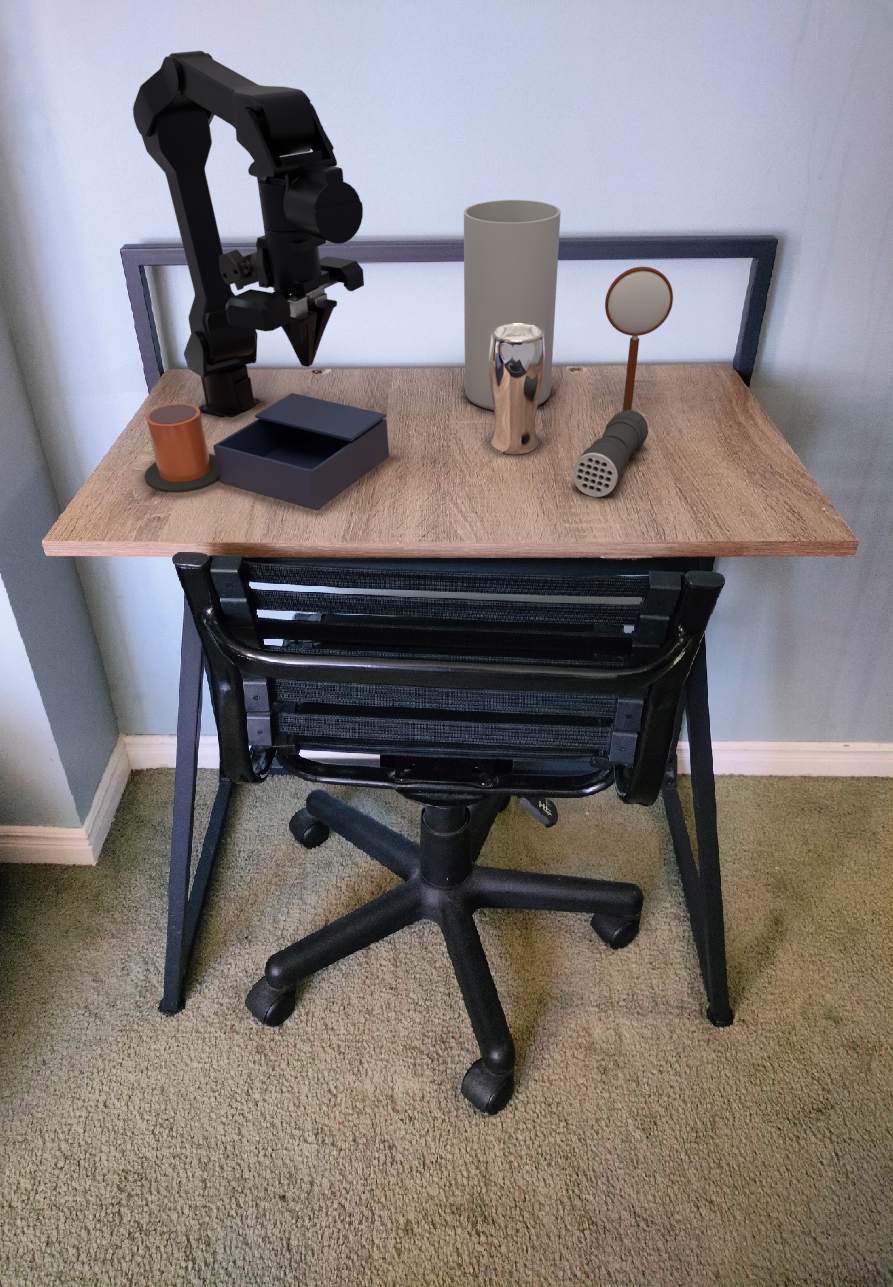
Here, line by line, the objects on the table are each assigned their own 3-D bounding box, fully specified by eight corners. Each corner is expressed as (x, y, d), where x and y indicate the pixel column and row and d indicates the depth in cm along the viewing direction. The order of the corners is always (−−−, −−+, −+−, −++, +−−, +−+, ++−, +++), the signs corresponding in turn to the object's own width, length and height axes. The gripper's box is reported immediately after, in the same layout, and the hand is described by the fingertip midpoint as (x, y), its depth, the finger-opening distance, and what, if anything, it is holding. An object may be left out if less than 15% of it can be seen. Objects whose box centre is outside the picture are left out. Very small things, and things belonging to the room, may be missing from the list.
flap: (292, 395, 118) (292, 392, 118) (385, 416, 112) (385, 413, 112) (255, 418, 113) (254, 415, 113) (351, 441, 107) (350, 438, 107)
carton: (297, 435, 122) (292, 398, 118) (389, 458, 116) (386, 419, 113) (220, 485, 111) (213, 445, 108) (317, 513, 105) (312, 471, 102)
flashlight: (608, 440, 119) (612, 402, 115) (648, 448, 117) (653, 408, 114) (570, 491, 108) (573, 450, 105) (614, 500, 106) (618, 459, 103)
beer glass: (537, 458, 115) (542, 342, 106) (484, 454, 116) (484, 339, 107) (543, 435, 120) (549, 323, 111) (492, 431, 122) (493, 320, 112)
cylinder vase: (447, 398, 131) (443, 213, 115) (500, 372, 138) (504, 195, 122) (515, 421, 124) (521, 228, 109) (567, 393, 131) (579, 208, 116)
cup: (147, 475, 112) (133, 418, 107) (183, 454, 116) (171, 399, 112) (186, 486, 109) (174, 429, 105) (222, 465, 114) (211, 409, 109)
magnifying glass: (595, 419, 124) (608, 269, 112) (594, 414, 125) (607, 265, 113) (658, 419, 124) (678, 268, 111) (656, 414, 125) (676, 264, 113)
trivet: (128, 484, 112) (127, 478, 111) (184, 451, 119) (182, 446, 118) (189, 502, 108) (187, 496, 107) (242, 468, 115) (241, 462, 114)
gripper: (284, 200, 107) (300, 331, 117) (175, 238, 94) (203, 380, 104) (361, 210, 103) (371, 344, 112) (257, 250, 90) (279, 398, 100)
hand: (306, 365), depth 107 cm, fingers closed
